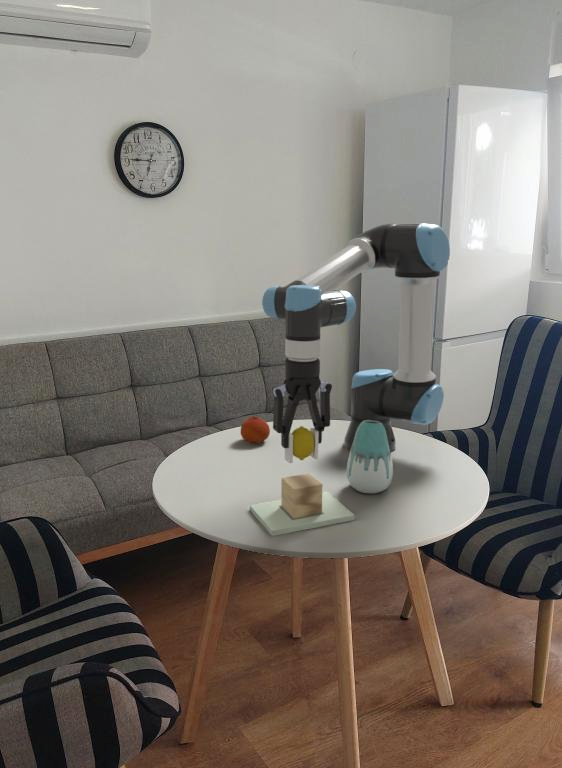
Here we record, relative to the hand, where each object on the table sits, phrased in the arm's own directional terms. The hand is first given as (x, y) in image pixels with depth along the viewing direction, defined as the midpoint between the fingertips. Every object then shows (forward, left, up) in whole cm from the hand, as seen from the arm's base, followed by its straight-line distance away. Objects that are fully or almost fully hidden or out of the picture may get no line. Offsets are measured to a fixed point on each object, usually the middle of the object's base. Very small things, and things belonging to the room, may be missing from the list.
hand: (301, 458), depth 145 cm
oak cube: (0, 0, -12) cm, 12 cm away
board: (0, 0, -14) cm, 14 cm away
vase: (-22, -7, -14) cm, 27 cm away
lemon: (0, 0, -1) cm, 1 cm away
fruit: (-8, -51, -14) cm, 54 cm away
